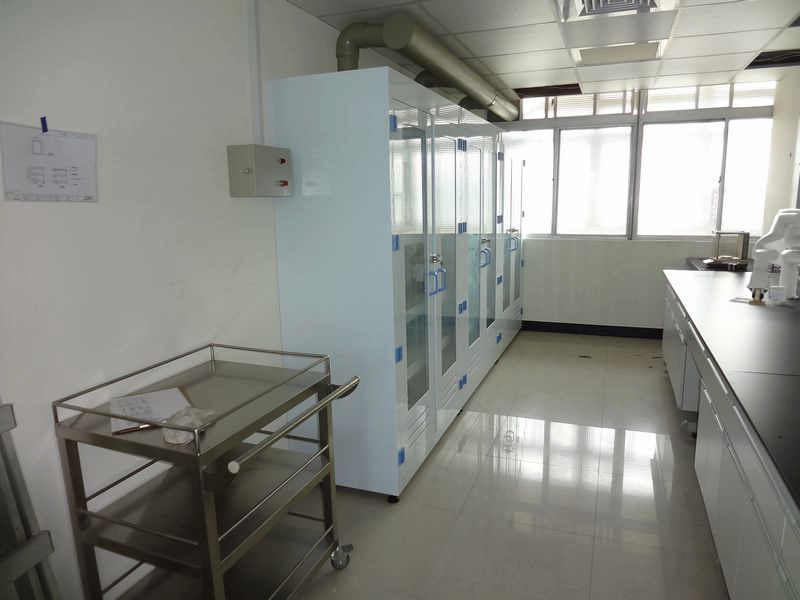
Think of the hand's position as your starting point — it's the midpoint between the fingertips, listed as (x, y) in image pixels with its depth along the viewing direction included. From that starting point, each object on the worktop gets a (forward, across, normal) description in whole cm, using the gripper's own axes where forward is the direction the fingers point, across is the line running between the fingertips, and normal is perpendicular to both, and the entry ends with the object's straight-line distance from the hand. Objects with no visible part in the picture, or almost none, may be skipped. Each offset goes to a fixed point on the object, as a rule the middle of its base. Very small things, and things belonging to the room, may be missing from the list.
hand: (757, 299), depth 337 cm
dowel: (+3, 0, 0) cm, 3 cm away
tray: (+4, +10, -6) cm, 12 cm away
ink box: (+4, -8, -9) cm, 13 cm away
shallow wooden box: (+4, 0, 0) cm, 4 cm away
